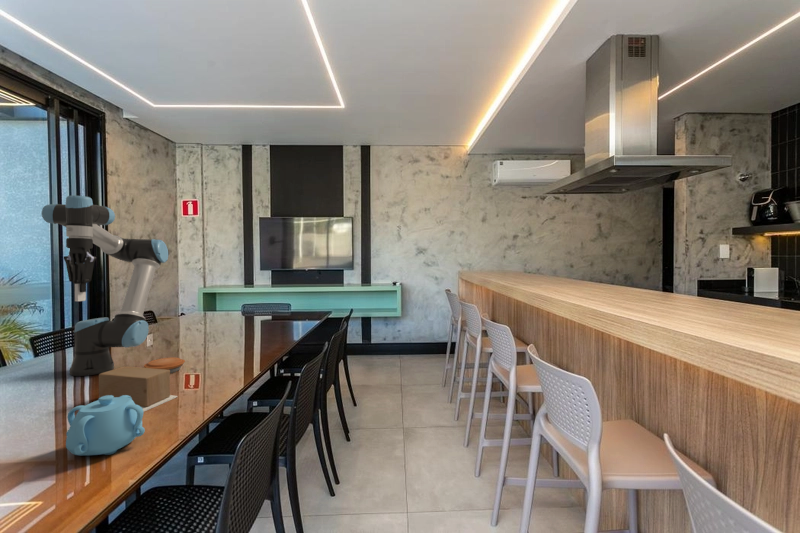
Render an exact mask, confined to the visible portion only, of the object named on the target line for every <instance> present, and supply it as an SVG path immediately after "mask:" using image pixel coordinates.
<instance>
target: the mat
mask: <svg viewBox="0 0 800 533" xmlns="http://www.w3.org/2000/svg"><path fill="white" fill-rule="evenodd" d="M175 398H178V395H172V394H170V397H168V398H166V399H163V400H161V401H159V402H157V403H155V404H152V405H150V406H148V407H142V406H140V407H142V409H143V413H144V412H147V411H149V410H151V409H153V408H156V407H158V406H160V405H162V404H165V403H168V402H169V401H171V400H174V399H175Z"/></svg>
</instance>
